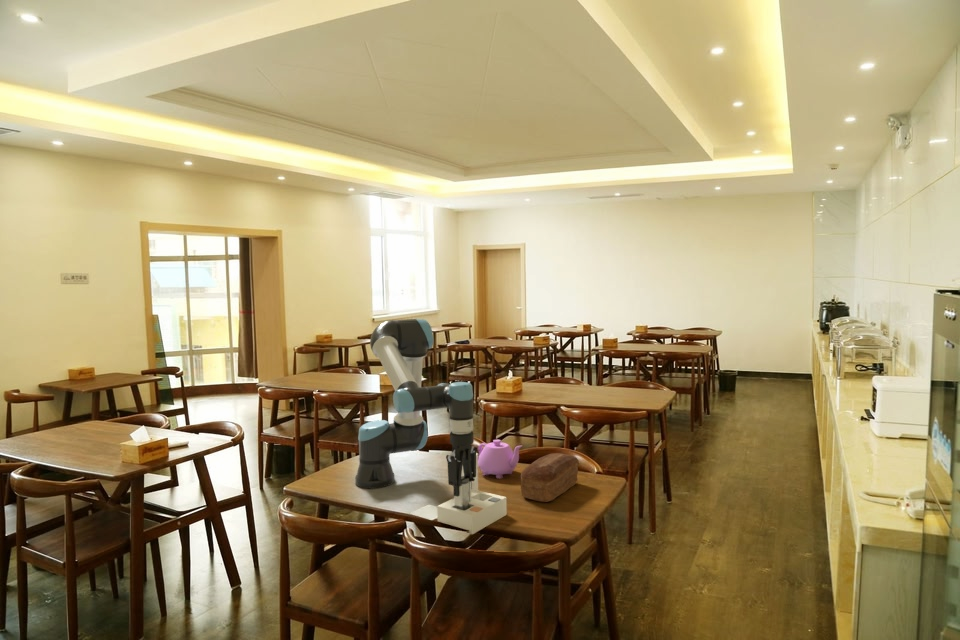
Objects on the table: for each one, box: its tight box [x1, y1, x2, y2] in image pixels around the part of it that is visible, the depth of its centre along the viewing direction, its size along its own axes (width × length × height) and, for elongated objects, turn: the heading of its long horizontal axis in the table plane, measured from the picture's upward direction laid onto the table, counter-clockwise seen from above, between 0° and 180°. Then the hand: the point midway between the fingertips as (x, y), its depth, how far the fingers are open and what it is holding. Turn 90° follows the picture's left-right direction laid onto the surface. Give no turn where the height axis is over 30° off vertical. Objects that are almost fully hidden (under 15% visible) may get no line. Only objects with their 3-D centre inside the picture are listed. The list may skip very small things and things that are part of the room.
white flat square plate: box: [409, 504, 438, 521], centre depth 204 cm, size 10×10×1 cm
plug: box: [457, 476, 469, 511], centre depth 195 cm, size 4×4×12 cm
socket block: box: [437, 489, 508, 535], centre depth 200 cm, size 14×19×6 cm
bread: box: [520, 452, 580, 503], centre depth 225 cm, size 14×28×12 cm, turn 147°
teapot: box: [477, 439, 522, 480], centre depth 245 cm, size 22×16×14 cm
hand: (463, 502), depth 195 cm, fingers closed on plug, 4 cm apart
